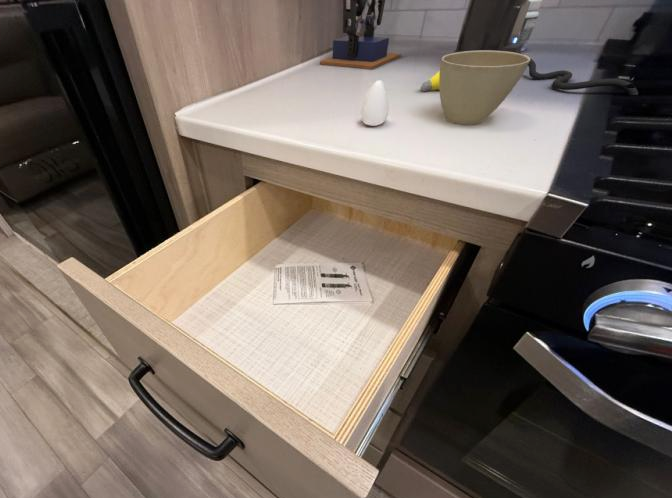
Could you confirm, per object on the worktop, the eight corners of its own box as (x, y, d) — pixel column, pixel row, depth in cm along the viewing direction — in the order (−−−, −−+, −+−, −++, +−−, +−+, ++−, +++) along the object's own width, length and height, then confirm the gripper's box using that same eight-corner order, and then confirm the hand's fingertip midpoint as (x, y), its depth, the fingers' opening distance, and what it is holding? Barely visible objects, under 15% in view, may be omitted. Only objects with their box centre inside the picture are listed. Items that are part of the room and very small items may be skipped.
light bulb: (459, 89, 55) (464, 68, 52) (423, 103, 56) (426, 84, 53) (451, 78, 57) (454, 57, 54) (416, 92, 58) (418, 72, 55)
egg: (387, 120, 48) (394, 76, 44) (384, 129, 45) (392, 83, 41) (361, 119, 49) (366, 76, 45) (357, 128, 46) (362, 83, 42)
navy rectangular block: (386, 56, 75) (389, 37, 72) (373, 62, 72) (376, 42, 69) (345, 53, 80) (347, 35, 78) (332, 58, 77) (333, 40, 75)
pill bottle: (495, 50, 74) (512, 0, 68) (512, 47, 74) (531, -3, 68) (512, 53, 70) (531, 1, 64) (529, 50, 71) (550, -2, 65)
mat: (400, 56, 76) (401, 53, 75) (372, 69, 70) (372, 65, 69) (349, 53, 83) (349, 50, 82) (319, 64, 77) (319, 61, 76)
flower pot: (514, 131, 42) (543, 64, 36) (431, 132, 43) (448, 68, 38) (493, 107, 48) (516, 47, 43) (423, 108, 50) (436, 51, 45)
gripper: (369, -53, 58) (357, 61, 70) (405, -56, 65) (389, 48, 77) (334, -50, 61) (328, 58, 74) (372, -52, 68) (361, 47, 81)
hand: (359, 53), depth 75 cm, fingers closed on navy rectangular block, 6 cm apart
